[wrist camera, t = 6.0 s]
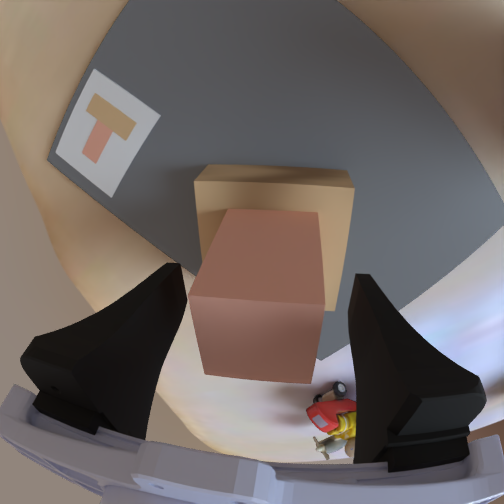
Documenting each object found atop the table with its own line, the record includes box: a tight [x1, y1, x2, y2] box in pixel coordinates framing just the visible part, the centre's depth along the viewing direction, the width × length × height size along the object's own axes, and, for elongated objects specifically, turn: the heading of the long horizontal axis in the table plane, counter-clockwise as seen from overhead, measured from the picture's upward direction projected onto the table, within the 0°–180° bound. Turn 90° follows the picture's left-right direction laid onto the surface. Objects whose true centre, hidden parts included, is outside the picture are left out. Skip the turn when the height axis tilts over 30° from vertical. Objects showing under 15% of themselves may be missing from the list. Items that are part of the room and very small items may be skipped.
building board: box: [47, 0, 504, 360], centre depth 16 cm, size 24×17×1 cm
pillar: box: [188, 209, 326, 384], centre depth 13 cm, size 4×4×6 cm
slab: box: [194, 164, 355, 311], centre depth 16 cm, size 7×7×2 cm
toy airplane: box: [306, 382, 356, 460], centre depth 24 cm, size 9×9×6 cm
